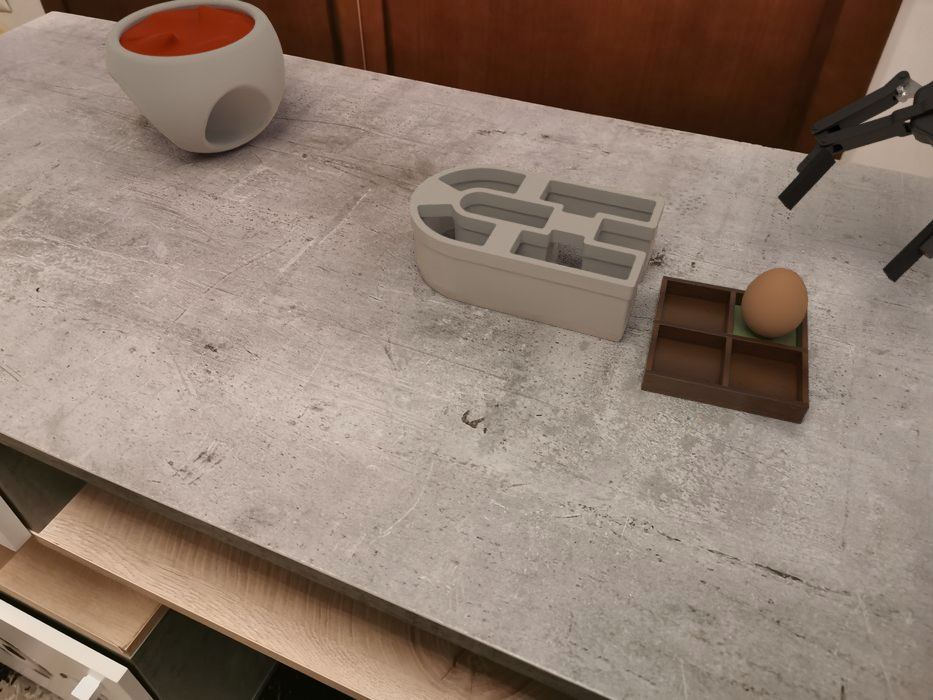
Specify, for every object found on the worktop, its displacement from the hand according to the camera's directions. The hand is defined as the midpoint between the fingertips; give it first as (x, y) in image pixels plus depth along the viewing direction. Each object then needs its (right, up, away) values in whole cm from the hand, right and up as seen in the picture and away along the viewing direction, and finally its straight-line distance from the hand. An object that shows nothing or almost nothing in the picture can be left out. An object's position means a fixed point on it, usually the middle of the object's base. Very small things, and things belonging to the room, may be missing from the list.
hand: (832, 238), depth 74 cm
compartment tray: (-9, -12, +5) cm, 16 cm away
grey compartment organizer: (-30, -2, +15) cm, 34 cm away
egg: (-4, -9, +6) cm, 12 cm away
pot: (-75, +21, +38) cm, 87 cm away
